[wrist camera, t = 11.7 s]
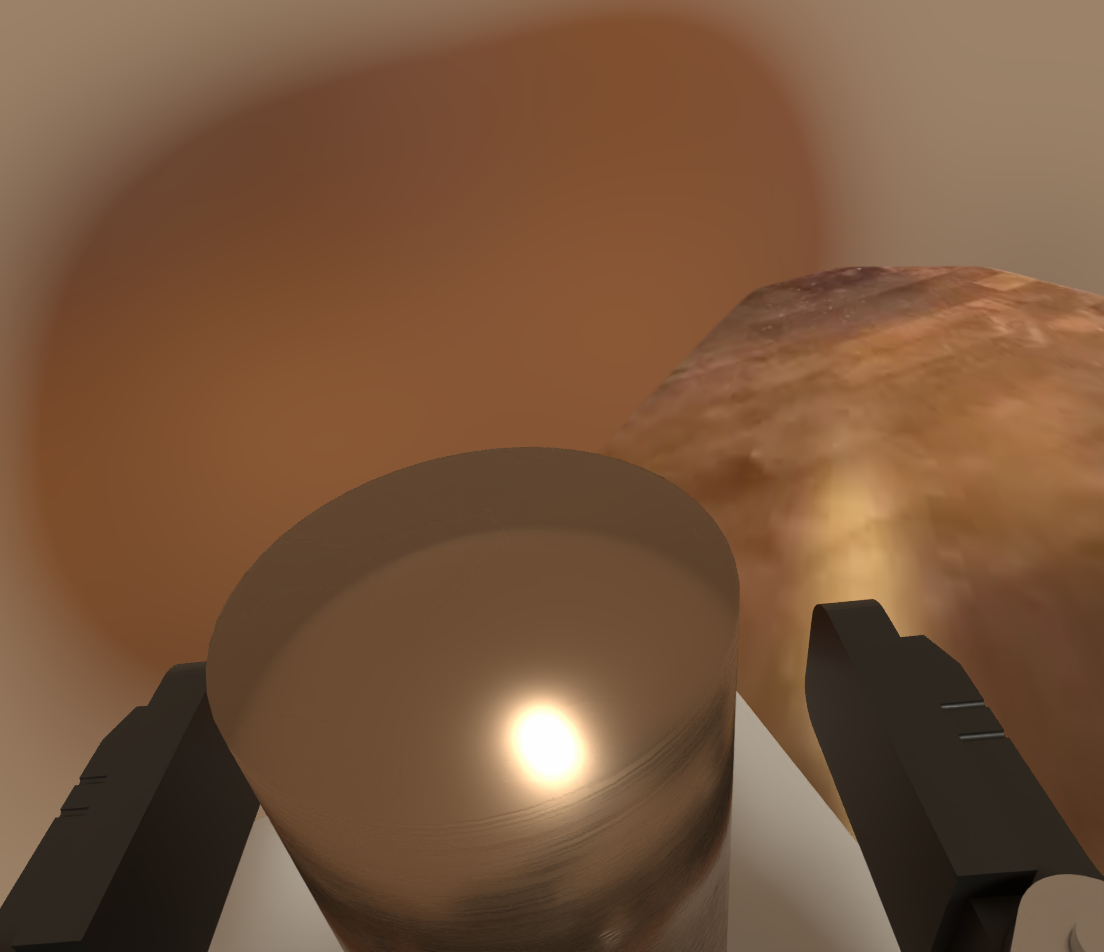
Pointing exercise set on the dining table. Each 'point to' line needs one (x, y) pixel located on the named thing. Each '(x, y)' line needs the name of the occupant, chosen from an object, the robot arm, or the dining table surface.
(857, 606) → the robot arm
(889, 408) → the dining table surface
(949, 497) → the dining table surface
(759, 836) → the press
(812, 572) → the dining table surface
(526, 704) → the plunger
